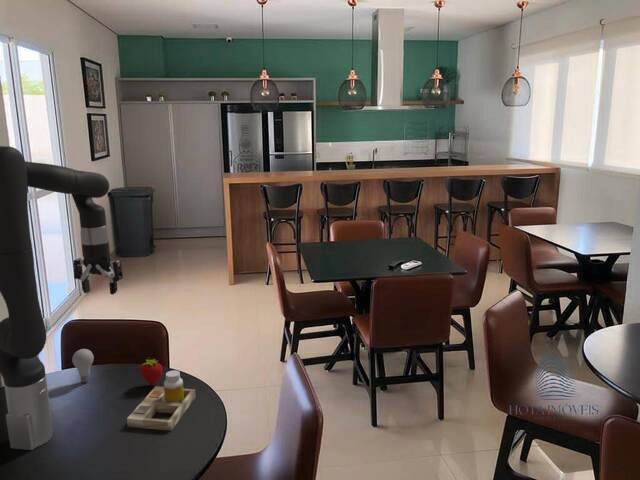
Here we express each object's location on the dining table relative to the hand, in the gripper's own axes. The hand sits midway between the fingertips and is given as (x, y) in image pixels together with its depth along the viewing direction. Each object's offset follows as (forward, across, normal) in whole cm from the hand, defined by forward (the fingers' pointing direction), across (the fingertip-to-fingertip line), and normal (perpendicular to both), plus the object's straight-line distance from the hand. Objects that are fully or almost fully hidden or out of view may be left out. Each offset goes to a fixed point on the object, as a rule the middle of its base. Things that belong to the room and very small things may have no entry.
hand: (100, 293), depth 157 cm
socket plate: (+30, +24, -12) cm, 40 cm away
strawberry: (+30, +14, +1) cm, 33 cm away
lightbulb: (+30, -8, 0) cm, 31 cm away
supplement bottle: (+30, +25, -8) cm, 40 cm away
